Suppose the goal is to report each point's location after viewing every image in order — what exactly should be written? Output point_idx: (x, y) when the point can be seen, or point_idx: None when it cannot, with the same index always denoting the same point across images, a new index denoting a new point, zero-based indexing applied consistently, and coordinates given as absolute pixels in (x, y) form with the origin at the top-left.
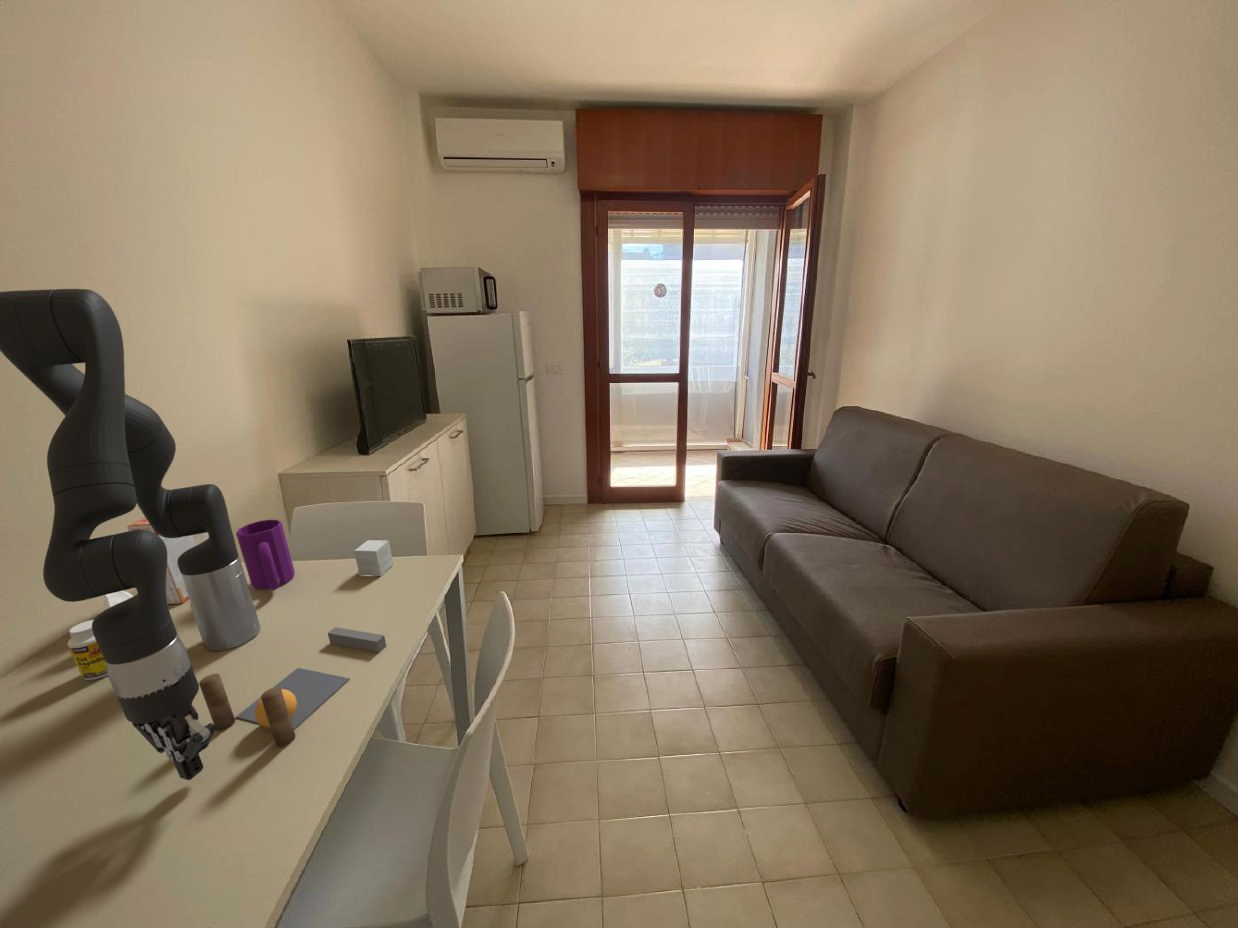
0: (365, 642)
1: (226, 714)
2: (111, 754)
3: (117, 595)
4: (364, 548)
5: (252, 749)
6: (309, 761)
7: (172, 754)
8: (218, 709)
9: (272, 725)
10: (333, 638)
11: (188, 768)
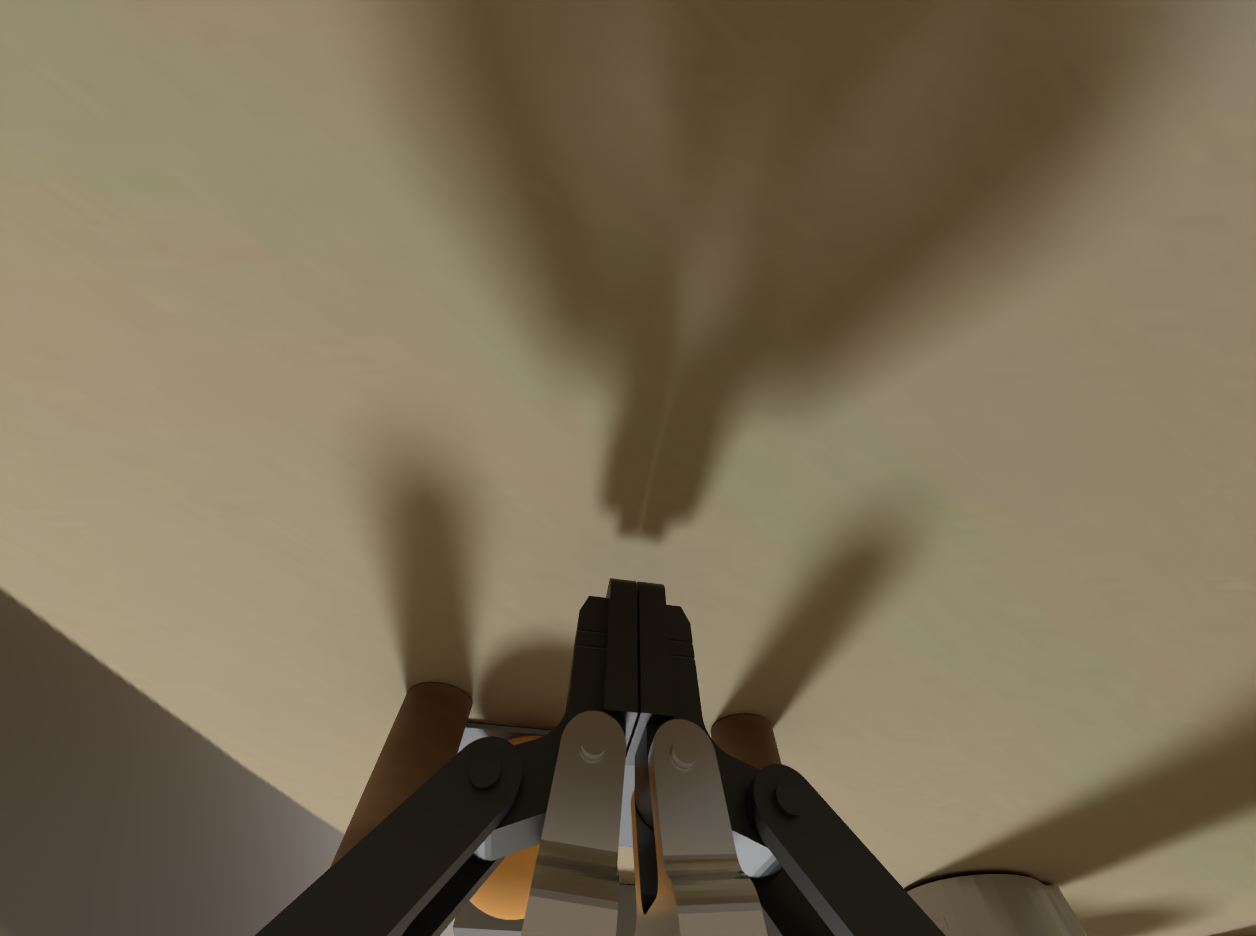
0: None
1: None
2: (1147, 630)
3: None
4: None
5: (529, 670)
6: (239, 647)
7: (653, 773)
8: None
9: (383, 808)
10: (626, 913)
11: (591, 646)
